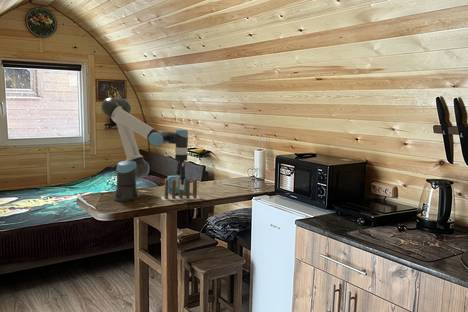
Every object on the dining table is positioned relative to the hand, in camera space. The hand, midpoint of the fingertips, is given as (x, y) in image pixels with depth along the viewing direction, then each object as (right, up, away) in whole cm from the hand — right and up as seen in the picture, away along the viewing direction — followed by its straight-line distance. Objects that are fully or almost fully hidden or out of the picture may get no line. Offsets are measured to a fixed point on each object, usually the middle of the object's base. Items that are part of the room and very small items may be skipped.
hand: (180, 187), depth 267 cm
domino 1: (-9, -7, -2) cm, 11 cm away
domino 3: (0, -7, +1) cm, 7 cm away
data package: (-5, -6, +18) cm, 19 cm away
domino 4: (+4, -7, +2) cm, 8 cm away
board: (0, -8, +1) cm, 8 cm away
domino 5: (+9, -7, +3) cm, 11 cm away
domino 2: (-4, -7, -1) cm, 8 cm away
